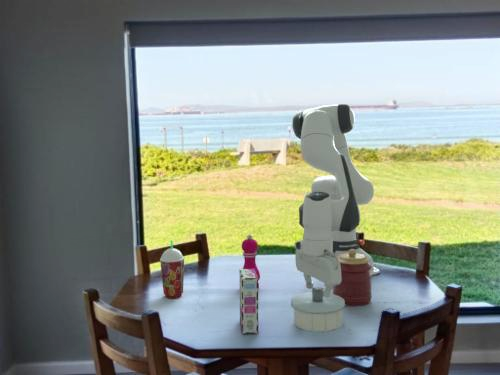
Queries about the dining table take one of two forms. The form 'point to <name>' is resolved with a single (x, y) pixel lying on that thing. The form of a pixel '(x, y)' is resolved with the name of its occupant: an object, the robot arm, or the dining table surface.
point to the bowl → (317, 321)
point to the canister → (354, 279)
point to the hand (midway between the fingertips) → (317, 292)
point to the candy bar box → (248, 301)
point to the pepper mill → (250, 254)
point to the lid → (317, 302)
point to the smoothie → (172, 272)
